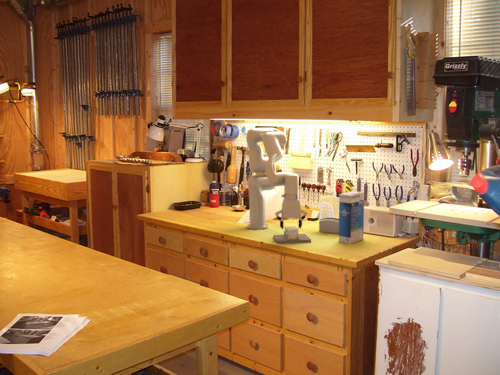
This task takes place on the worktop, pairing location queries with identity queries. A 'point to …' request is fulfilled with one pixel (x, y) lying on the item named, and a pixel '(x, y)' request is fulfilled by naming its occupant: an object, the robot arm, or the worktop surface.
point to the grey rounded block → (329, 224)
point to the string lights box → (351, 217)
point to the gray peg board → (283, 239)
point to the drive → (291, 232)
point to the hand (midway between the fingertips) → (290, 228)
